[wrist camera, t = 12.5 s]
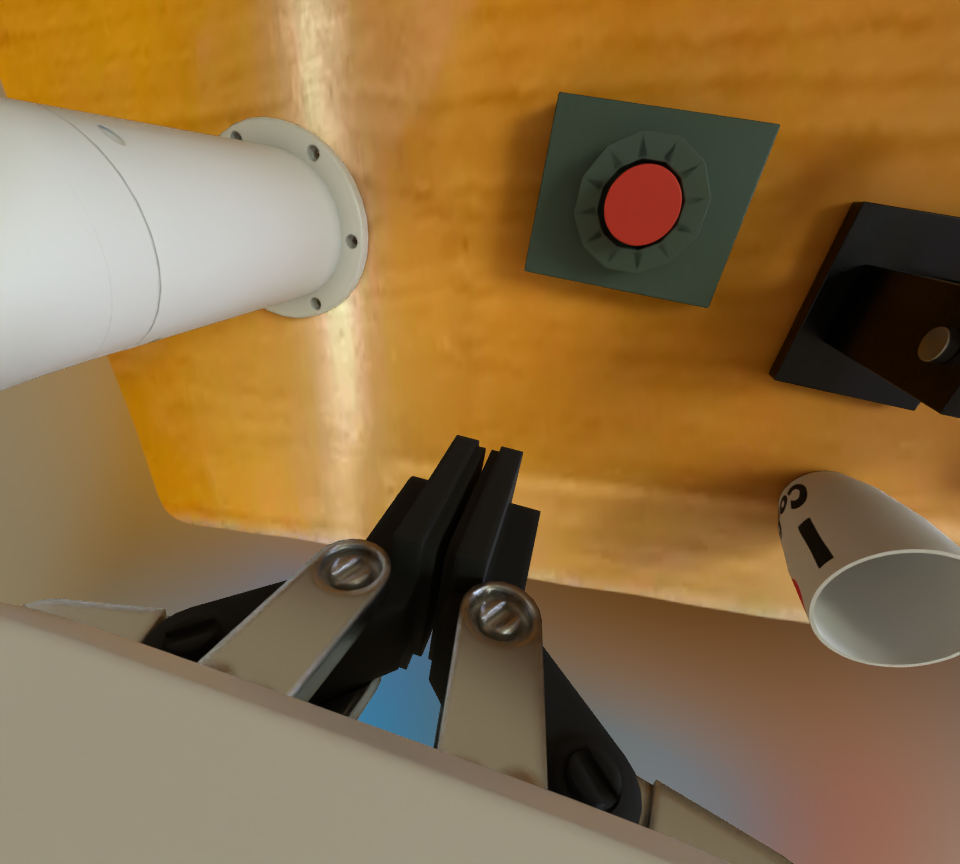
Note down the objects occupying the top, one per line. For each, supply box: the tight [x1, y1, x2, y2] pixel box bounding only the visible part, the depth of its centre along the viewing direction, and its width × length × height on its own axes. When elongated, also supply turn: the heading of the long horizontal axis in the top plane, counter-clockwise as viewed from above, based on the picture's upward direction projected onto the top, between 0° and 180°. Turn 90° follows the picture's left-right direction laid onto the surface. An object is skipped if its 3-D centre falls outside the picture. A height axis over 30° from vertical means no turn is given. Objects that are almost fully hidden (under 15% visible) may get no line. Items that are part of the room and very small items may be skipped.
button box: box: [524, 92, 780, 308], centre depth 25 cm, size 11×9×4 cm
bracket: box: [769, 202, 960, 418], centre depth 21 cm, size 10×8×12 cm
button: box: [604, 164, 682, 246], centre depth 23 cm, size 4×4×2 cm
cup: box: [778, 471, 960, 667], centre depth 28 cm, size 8×8×10 cm
